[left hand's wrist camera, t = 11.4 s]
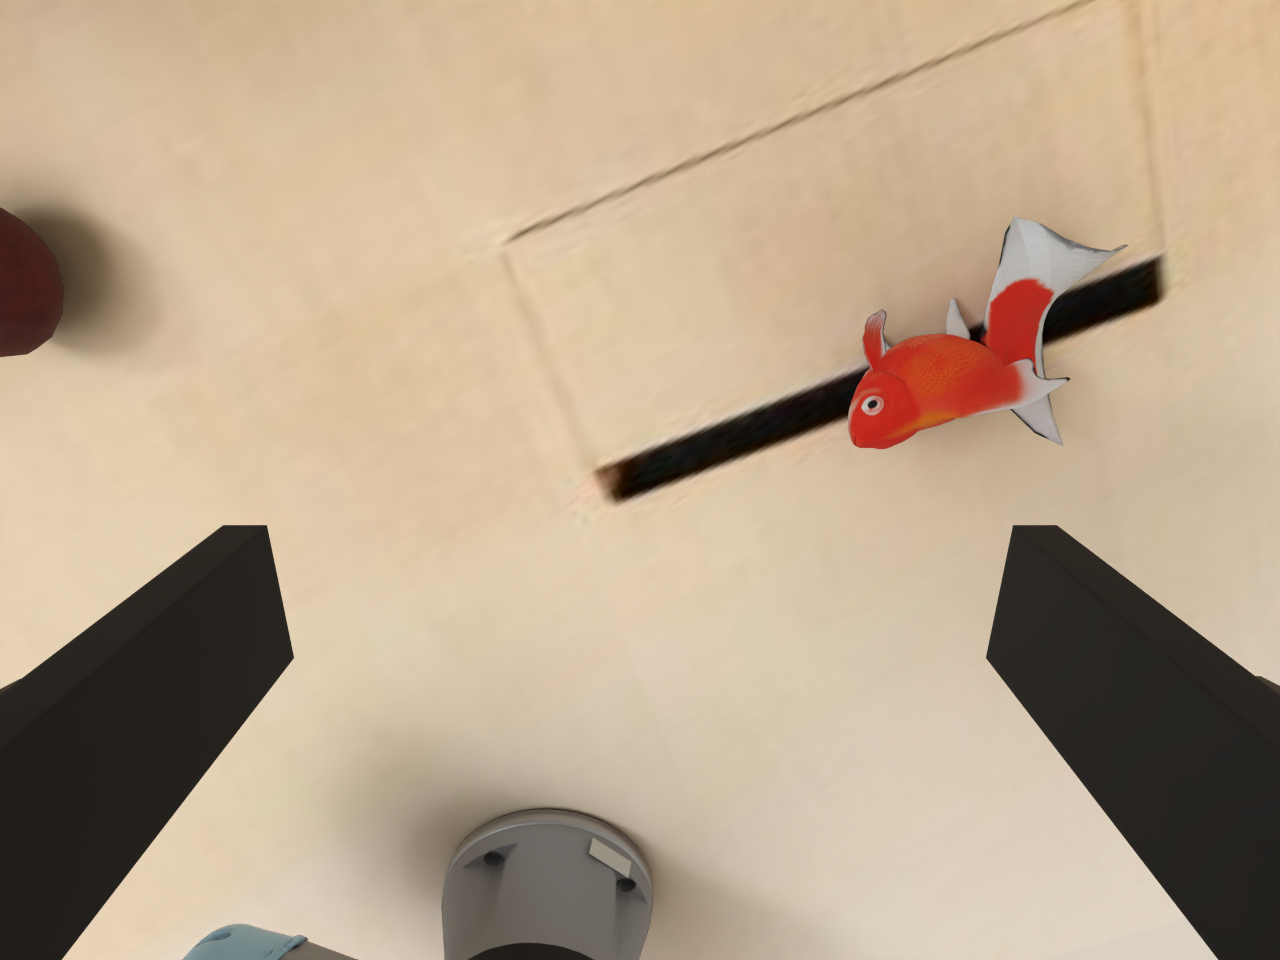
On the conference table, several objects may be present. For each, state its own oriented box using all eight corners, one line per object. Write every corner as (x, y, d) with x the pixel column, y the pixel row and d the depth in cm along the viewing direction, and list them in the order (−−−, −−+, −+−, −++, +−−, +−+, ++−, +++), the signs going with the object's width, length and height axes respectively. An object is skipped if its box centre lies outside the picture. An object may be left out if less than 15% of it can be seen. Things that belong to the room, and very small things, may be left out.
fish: (788, 250, 32) (966, 326, 25) (1027, 158, 37) (1234, 200, 30) (789, 438, 39) (930, 540, 32) (991, 340, 44) (1153, 410, 37)
